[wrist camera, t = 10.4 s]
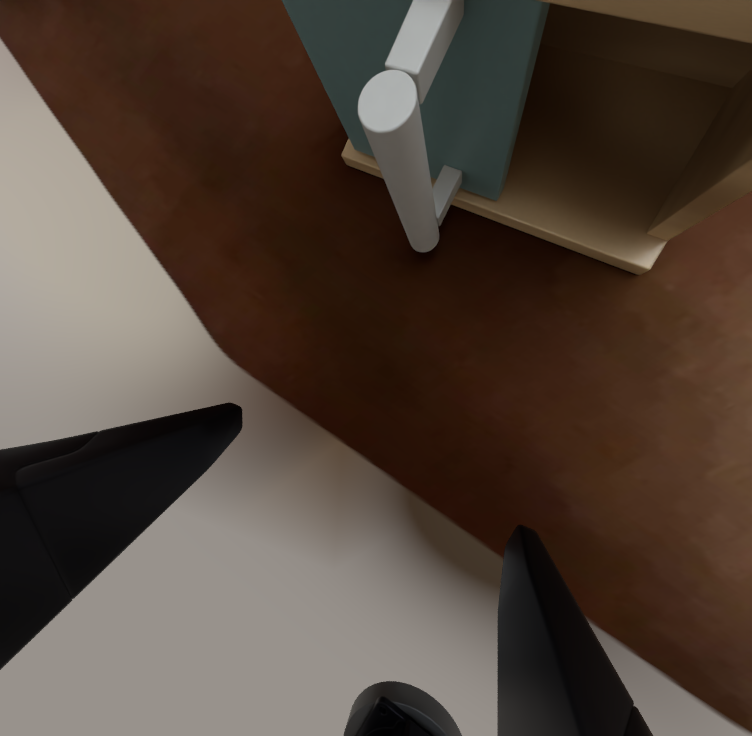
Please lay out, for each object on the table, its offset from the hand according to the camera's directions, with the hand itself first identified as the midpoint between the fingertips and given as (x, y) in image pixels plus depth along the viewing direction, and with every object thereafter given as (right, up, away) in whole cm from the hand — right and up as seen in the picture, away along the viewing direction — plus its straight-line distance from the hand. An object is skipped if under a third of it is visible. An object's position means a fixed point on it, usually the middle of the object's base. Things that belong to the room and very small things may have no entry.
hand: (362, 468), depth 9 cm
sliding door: (+2, +12, +8) cm, 15 cm away
